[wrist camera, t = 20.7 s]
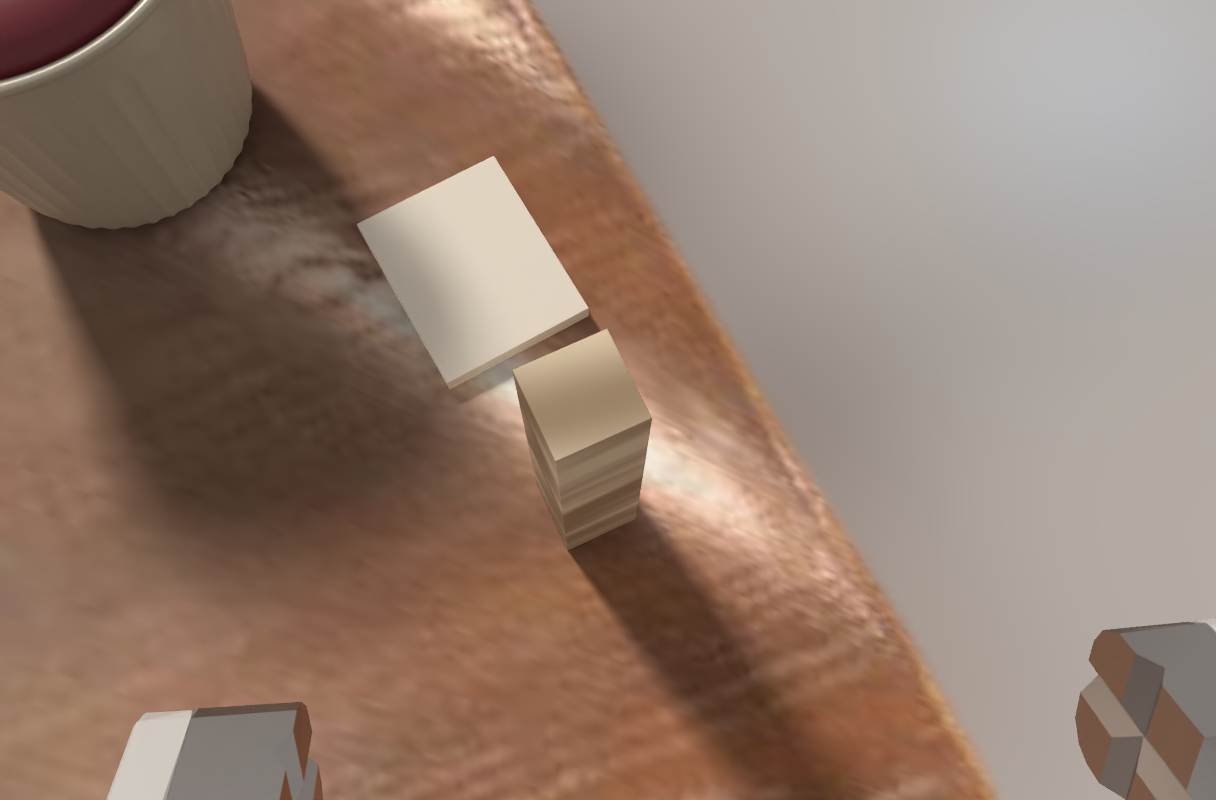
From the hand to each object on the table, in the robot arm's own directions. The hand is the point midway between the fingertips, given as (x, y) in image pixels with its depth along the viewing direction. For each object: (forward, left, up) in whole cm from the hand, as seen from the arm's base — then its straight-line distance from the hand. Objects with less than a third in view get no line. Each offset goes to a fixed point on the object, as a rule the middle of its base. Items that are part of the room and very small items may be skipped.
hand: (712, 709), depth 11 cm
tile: (+18, +9, -40) cm, 45 cm away
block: (+11, +4, -39) cm, 41 cm away
